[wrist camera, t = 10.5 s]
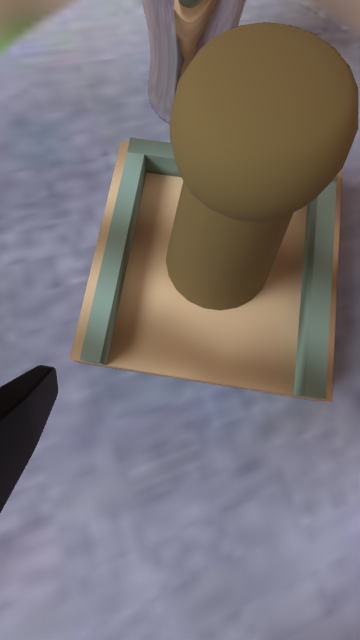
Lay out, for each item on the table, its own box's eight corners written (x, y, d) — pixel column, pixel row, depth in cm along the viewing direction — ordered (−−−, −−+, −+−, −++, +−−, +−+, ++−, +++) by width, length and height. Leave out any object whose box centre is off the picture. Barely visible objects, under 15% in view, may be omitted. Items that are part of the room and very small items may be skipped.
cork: (225, 195, 19) (287, -56, 8) (291, 269, 18) (458, 90, 7) (144, 250, 18) (100, 49, 8) (209, 331, 17) (264, 231, 7)
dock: (315, 400, 18) (346, 402, 15) (80, 362, 19) (59, 356, 15) (327, 192, 22) (355, 154, 18) (126, 163, 22) (116, 120, 19)
